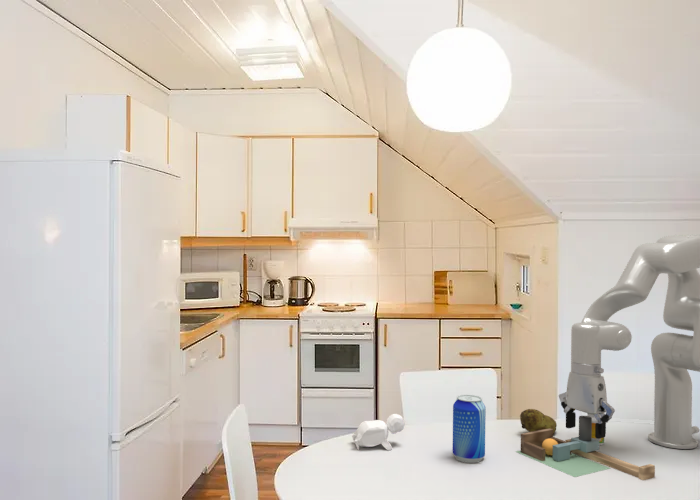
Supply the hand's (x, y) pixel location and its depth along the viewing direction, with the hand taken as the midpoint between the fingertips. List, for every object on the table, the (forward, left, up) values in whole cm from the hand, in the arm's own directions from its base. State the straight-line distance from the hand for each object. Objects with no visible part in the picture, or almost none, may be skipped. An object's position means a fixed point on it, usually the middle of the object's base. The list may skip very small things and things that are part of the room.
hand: (585, 432), depth 157 cm
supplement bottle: (-11, -6, -6) cm, 14 cm away
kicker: (+4, 0, -6) cm, 7 cm away
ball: (+9, -4, -1) cm, 10 cm away
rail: (0, +7, -6) cm, 9 cm away
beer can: (+30, -12, -6) cm, 33 cm away
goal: (+9, -5, -6) cm, 12 cm away
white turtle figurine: (+46, -31, -6) cm, 56 cm away
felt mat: (+9, 0, -6) cm, 11 cm away
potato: (-2, -18, -6) cm, 19 cm away
